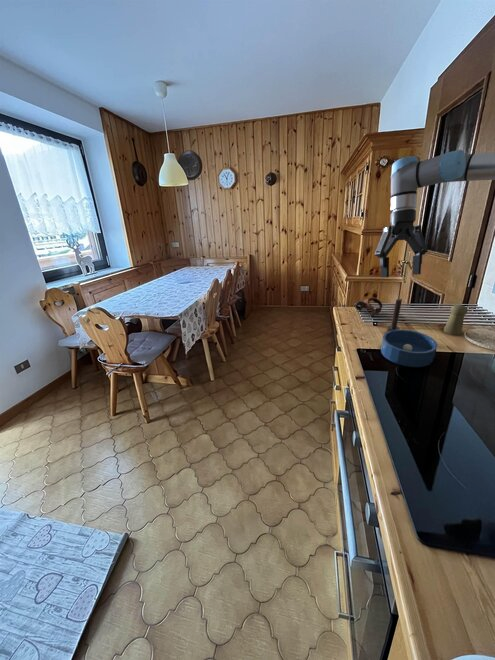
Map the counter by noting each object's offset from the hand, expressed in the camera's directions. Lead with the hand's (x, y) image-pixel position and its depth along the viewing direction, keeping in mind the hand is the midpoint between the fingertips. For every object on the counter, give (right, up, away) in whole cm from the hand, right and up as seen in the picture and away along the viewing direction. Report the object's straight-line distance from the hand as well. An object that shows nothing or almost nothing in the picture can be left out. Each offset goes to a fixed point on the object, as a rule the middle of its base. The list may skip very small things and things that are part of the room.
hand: (400, 275), depth 98 cm
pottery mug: (+3, -11, +36) cm, 37 cm away
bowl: (+3, -27, +3) cm, 28 cm away
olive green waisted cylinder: (+29, -20, +15) cm, 38 cm away
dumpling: (+3, -25, +2) cm, 26 cm away
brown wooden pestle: (+5, -21, +16) cm, 27 cm away
